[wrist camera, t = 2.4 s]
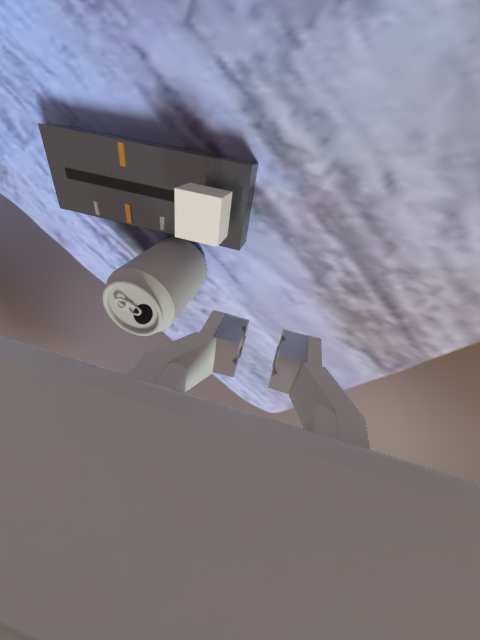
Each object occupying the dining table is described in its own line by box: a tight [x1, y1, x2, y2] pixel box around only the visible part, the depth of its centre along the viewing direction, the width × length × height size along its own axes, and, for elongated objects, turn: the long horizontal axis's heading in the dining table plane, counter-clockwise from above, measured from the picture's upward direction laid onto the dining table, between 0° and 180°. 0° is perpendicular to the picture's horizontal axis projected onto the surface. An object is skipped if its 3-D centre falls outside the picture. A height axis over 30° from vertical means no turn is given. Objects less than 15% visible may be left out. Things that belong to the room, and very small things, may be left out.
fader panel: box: [38, 124, 258, 250], centre depth 28 cm, size 8×22×3 cm, turn 81°
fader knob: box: [174, 183, 232, 247], centre depth 24 cm, size 4×4×5 cm
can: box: [102, 237, 207, 336], centre depth 29 cm, size 8×8×12 cm
